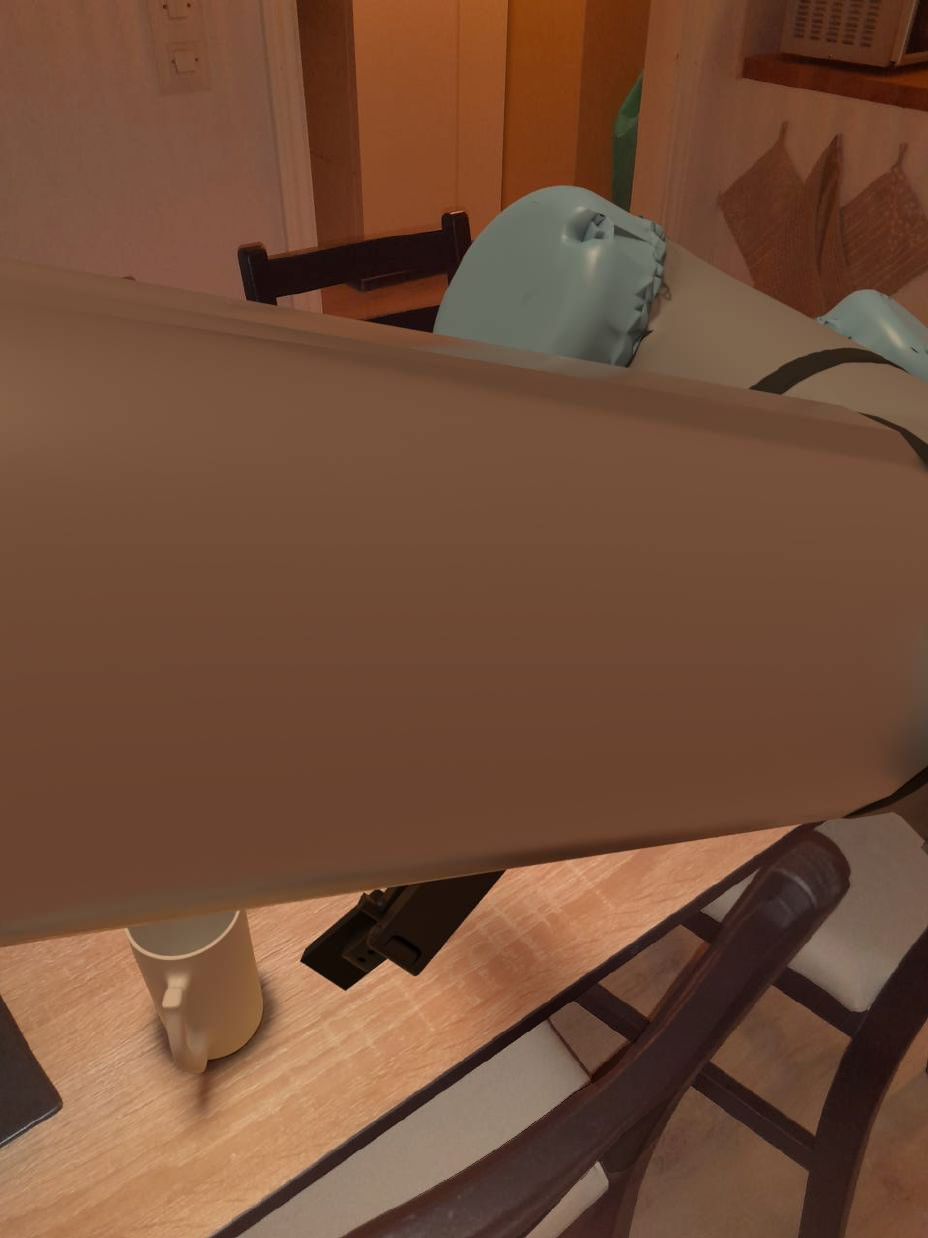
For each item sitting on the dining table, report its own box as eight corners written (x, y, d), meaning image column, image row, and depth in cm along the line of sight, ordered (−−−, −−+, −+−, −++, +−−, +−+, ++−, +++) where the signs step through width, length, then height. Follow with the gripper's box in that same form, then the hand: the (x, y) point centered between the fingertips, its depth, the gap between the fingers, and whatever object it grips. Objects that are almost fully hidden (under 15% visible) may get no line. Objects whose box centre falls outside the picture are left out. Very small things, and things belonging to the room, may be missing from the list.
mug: (173, 970, 66) (136, 860, 58) (272, 965, 66) (248, 856, 59) (143, 1122, 58) (96, 1018, 51) (255, 1116, 58) (225, 1012, 51)
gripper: (693, 910, 31) (351, 1121, 43) (704, 545, 51) (470, 755, 63) (512, 777, 30) (209, 1033, 41) (596, 457, 50) (378, 688, 62)
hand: (366, 865), depth 52 cm, fingers open, 13 cm apart
